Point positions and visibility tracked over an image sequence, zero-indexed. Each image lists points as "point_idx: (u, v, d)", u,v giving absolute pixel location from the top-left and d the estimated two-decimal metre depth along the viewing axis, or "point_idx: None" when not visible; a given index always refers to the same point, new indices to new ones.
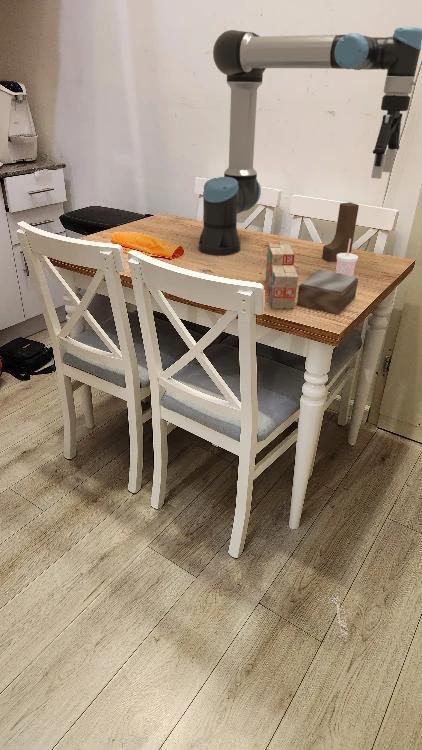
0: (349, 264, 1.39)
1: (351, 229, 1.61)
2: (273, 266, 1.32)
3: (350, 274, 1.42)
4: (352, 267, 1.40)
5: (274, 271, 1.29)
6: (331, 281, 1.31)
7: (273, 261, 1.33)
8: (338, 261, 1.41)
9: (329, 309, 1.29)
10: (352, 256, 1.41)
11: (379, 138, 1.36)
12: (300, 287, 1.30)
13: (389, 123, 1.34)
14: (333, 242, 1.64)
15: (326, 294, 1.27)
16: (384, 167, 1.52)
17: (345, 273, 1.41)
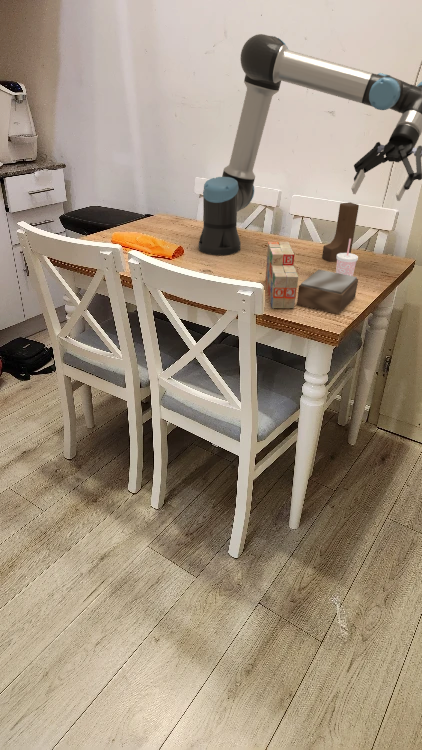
0: (349, 264, 1.39)
1: (351, 229, 1.61)
2: (273, 266, 1.32)
3: (350, 274, 1.42)
4: (352, 267, 1.40)
5: (274, 271, 1.29)
6: (331, 281, 1.31)
7: (273, 261, 1.33)
8: (338, 261, 1.41)
9: (329, 309, 1.29)
10: (352, 256, 1.41)
11: (420, 164, 1.35)
12: (300, 287, 1.30)
13: (420, 156, 1.37)
14: (333, 242, 1.64)
15: (326, 294, 1.27)
16: (355, 185, 1.42)
17: (345, 273, 1.41)
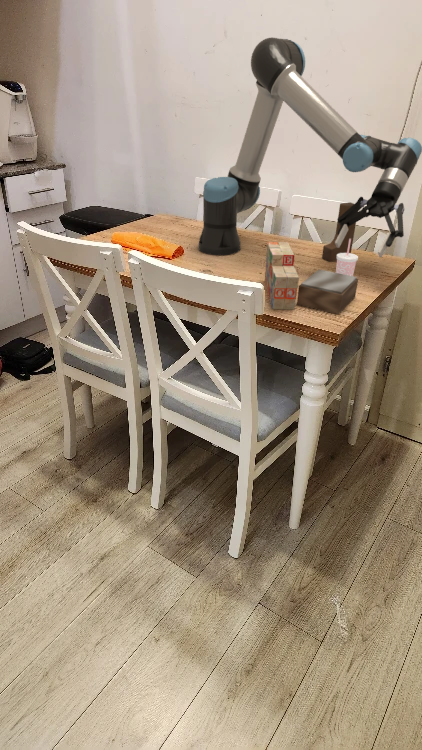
0: (349, 264, 1.39)
1: (351, 229, 1.61)
2: (273, 267, 1.32)
3: (350, 274, 1.42)
4: (352, 267, 1.40)
5: (274, 272, 1.28)
6: (331, 281, 1.31)
7: (273, 262, 1.32)
8: (338, 261, 1.41)
9: (329, 309, 1.29)
10: (352, 256, 1.41)
11: (402, 222, 1.37)
12: (300, 287, 1.30)
13: (402, 213, 1.40)
14: (333, 242, 1.64)
15: (326, 294, 1.27)
16: (339, 240, 1.45)
17: (345, 273, 1.41)
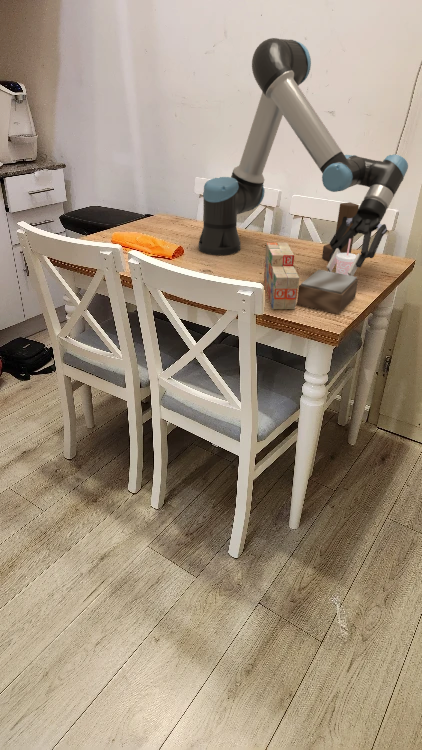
0: (349, 264, 1.39)
1: None
2: (273, 267, 1.31)
3: None
4: None
5: (275, 272, 1.28)
6: (331, 281, 1.31)
7: (273, 262, 1.32)
8: (338, 261, 1.41)
9: (329, 309, 1.29)
10: (352, 256, 1.41)
11: (376, 244, 1.37)
12: (300, 287, 1.30)
13: (382, 235, 1.39)
14: None
15: (326, 294, 1.27)
16: (331, 264, 1.42)
17: (345, 273, 1.41)
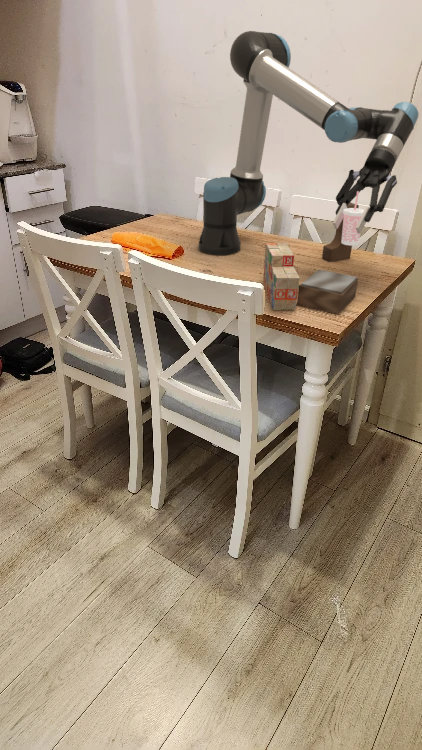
0: (357, 219, 1.31)
1: None
2: (273, 267, 1.31)
3: None
4: None
5: (275, 273, 1.28)
6: (331, 281, 1.31)
7: (273, 262, 1.32)
8: (345, 216, 1.32)
9: (329, 309, 1.29)
10: (360, 211, 1.32)
11: (385, 196, 1.29)
12: (300, 287, 1.30)
13: (392, 187, 1.30)
14: (333, 242, 1.64)
15: (326, 294, 1.27)
16: (337, 220, 1.33)
17: (353, 229, 1.32)
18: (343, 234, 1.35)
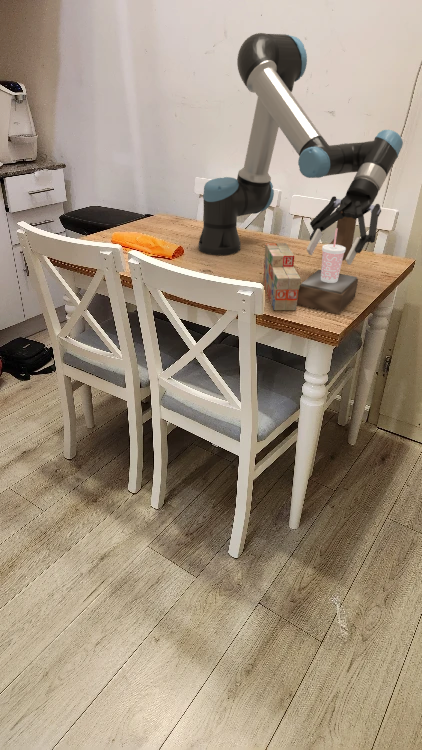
0: (335, 257, 1.26)
1: (351, 229, 1.61)
2: (273, 268, 1.31)
3: (337, 267, 1.28)
4: (339, 260, 1.27)
5: (275, 273, 1.27)
6: None
7: (273, 263, 1.31)
8: (324, 253, 1.28)
9: (329, 309, 1.29)
10: (339, 248, 1.28)
11: (374, 226, 1.22)
12: (300, 287, 1.30)
13: (378, 216, 1.25)
14: (333, 242, 1.64)
15: (326, 294, 1.27)
16: (311, 246, 1.29)
17: (331, 266, 1.28)
18: (322, 271, 1.30)
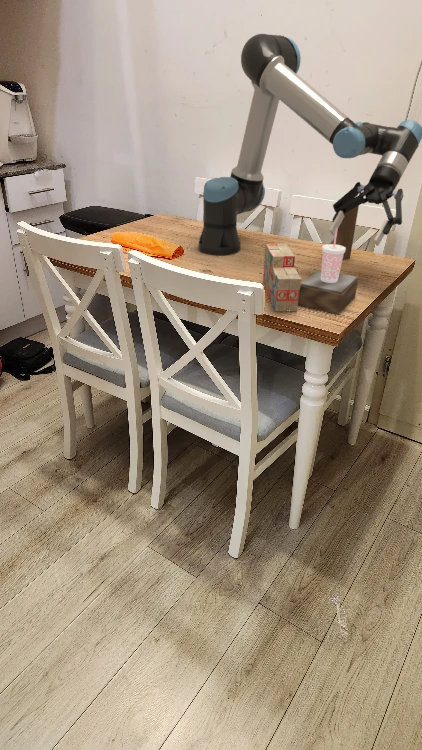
0: (335, 257, 1.26)
1: (351, 229, 1.61)
2: (274, 268, 1.31)
3: (337, 268, 1.28)
4: (339, 260, 1.27)
5: (276, 274, 1.27)
6: None
7: (274, 263, 1.31)
8: (324, 253, 1.28)
9: (329, 309, 1.29)
10: (339, 248, 1.28)
11: (400, 209, 1.30)
12: (300, 287, 1.30)
13: (401, 200, 1.33)
14: (333, 242, 1.64)
15: (326, 294, 1.27)
16: (334, 227, 1.37)
17: (331, 266, 1.28)
18: (322, 271, 1.30)
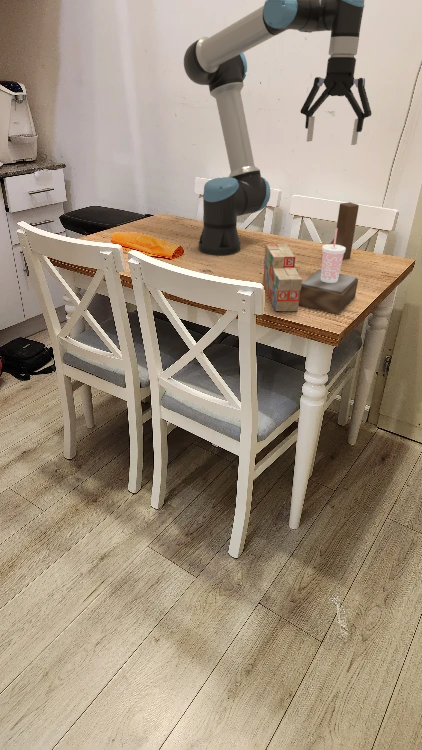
0: (335, 257, 1.26)
1: (351, 229, 1.61)
2: (274, 269, 1.30)
3: (337, 268, 1.28)
4: (339, 260, 1.27)
5: (277, 274, 1.27)
6: None
7: (274, 264, 1.31)
8: (324, 253, 1.28)
9: (329, 309, 1.29)
10: (339, 248, 1.28)
11: (366, 102, 1.33)
12: None
13: (364, 86, 1.33)
14: (333, 242, 1.64)
15: (326, 294, 1.27)
16: (309, 136, 1.44)
17: (331, 266, 1.28)
18: (322, 271, 1.30)
